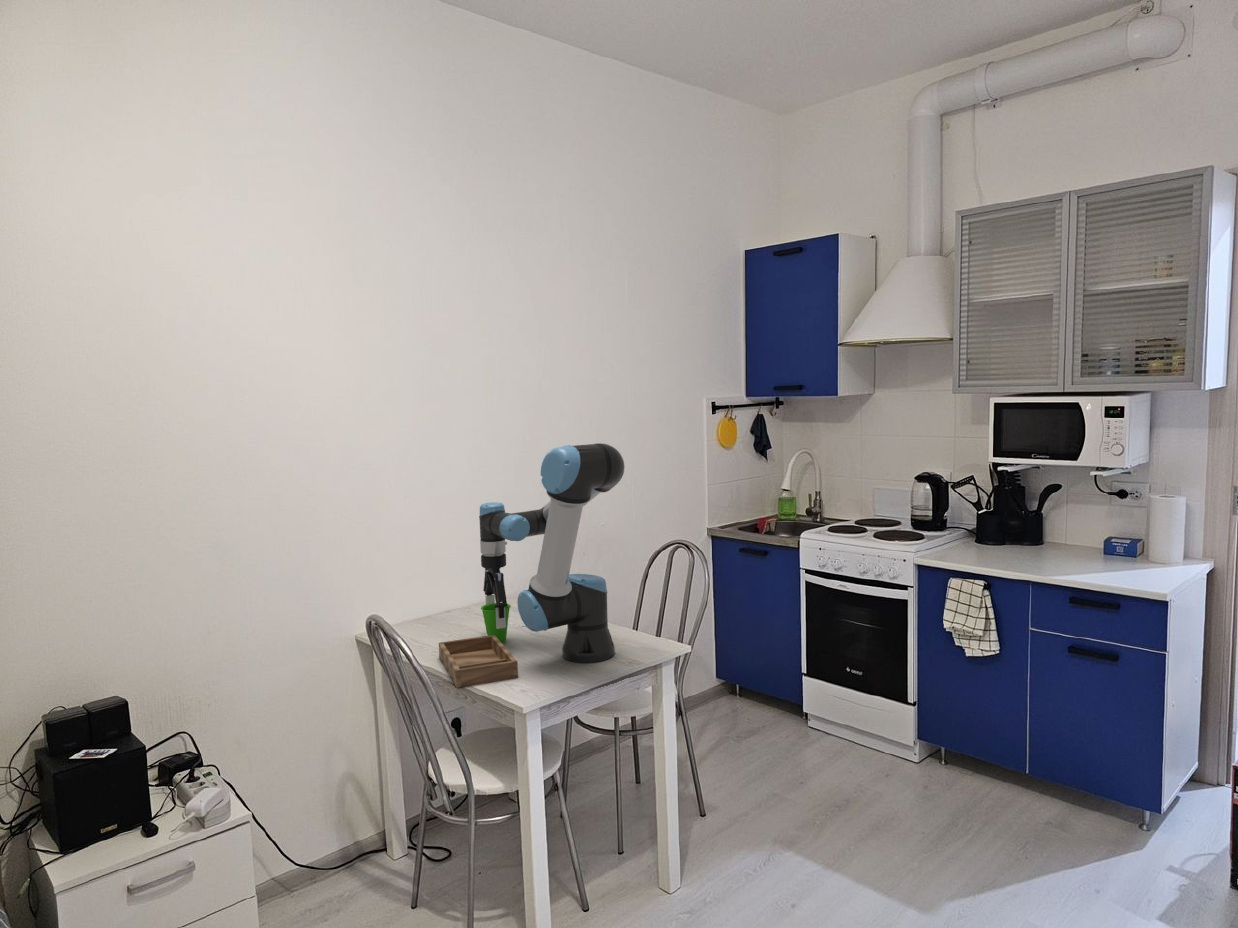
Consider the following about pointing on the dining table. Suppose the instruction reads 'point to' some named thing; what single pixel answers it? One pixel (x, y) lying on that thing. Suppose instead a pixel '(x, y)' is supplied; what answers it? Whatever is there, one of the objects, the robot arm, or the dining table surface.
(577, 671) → the dining table surface
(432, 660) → the dining table surface
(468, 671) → the crate
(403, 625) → the dining table surface
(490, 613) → the cup
